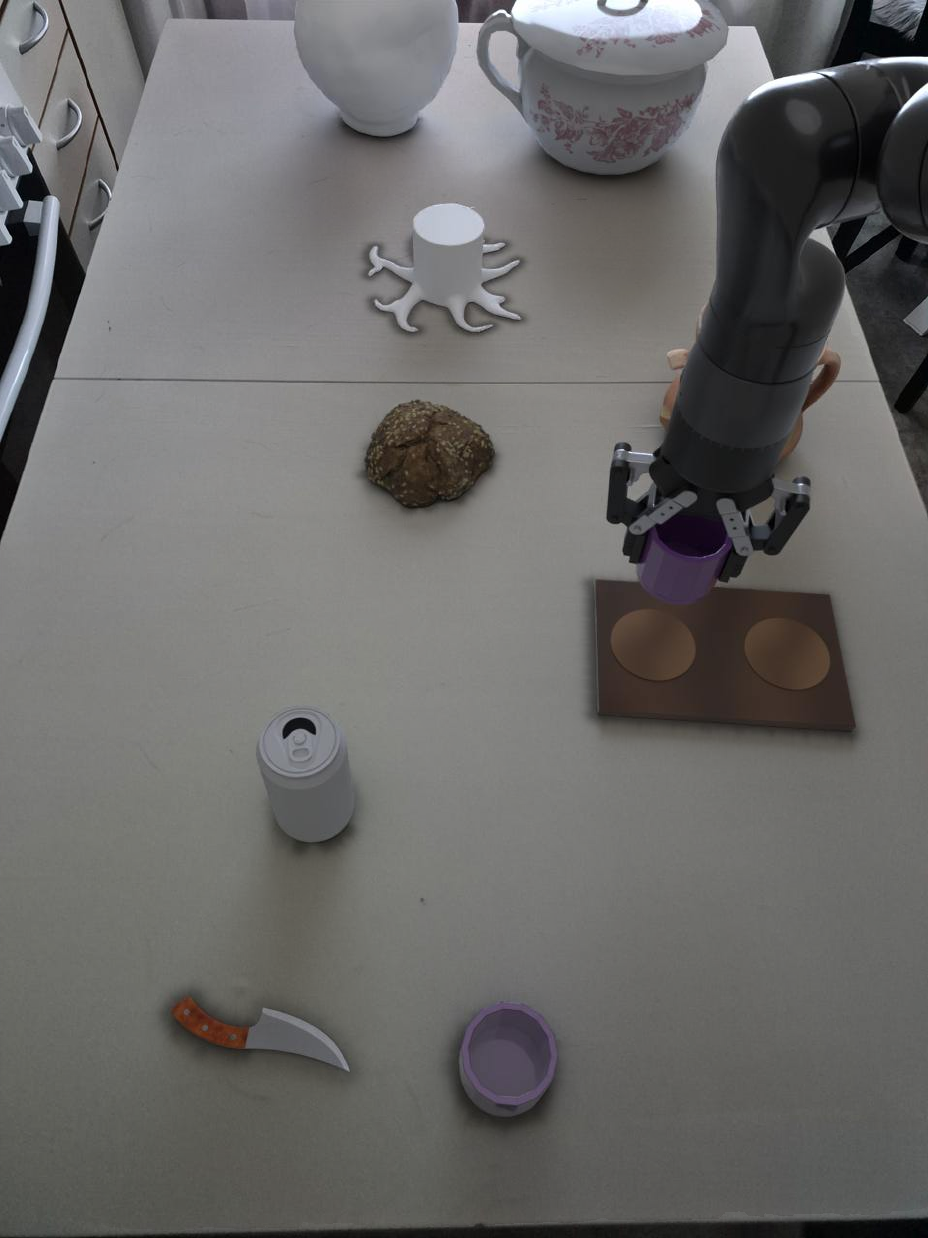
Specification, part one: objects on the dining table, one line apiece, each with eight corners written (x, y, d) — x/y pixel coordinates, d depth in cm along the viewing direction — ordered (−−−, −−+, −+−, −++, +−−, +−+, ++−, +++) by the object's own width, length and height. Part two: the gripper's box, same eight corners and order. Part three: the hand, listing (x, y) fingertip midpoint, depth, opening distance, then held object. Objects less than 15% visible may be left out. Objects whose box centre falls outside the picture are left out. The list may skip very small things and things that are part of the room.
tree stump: (536, 247, 121) (543, 186, 114) (514, 347, 110) (520, 286, 103) (380, 225, 122) (378, 164, 116) (343, 322, 111) (338, 261, 105)
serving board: (826, 600, 91) (830, 593, 90) (852, 731, 83) (856, 725, 82) (593, 584, 91) (595, 577, 90) (597, 715, 83) (599, 708, 82)
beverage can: (350, 766, 79) (340, 693, 70) (359, 840, 76) (349, 774, 66) (272, 777, 79) (251, 705, 69) (277, 852, 75) (255, 787, 65)
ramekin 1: (563, 1096, 66) (573, 1082, 62) (477, 1132, 65) (481, 1121, 60) (528, 1006, 69) (535, 987, 65) (445, 1039, 68) (447, 1022, 63)
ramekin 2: (730, 592, 74) (750, 548, 70) (657, 615, 73) (673, 571, 69) (691, 533, 78) (708, 488, 73) (621, 554, 76) (633, 509, 72)
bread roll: (406, 403, 104) (406, 367, 100) (507, 446, 101) (510, 411, 97) (339, 477, 98) (336, 442, 94) (445, 526, 94) (445, 492, 90)
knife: (360, 1029, 67) (348, 1075, 66) (360, 1031, 68) (349, 1076, 66) (179, 987, 68) (163, 1031, 67) (180, 989, 69) (165, 1033, 67)
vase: (277, 123, 135) (244, -137, 110) (381, 68, 145) (373, -182, 120) (374, 174, 129) (363, -89, 104) (477, 113, 138) (488, -141, 114)
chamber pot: (736, 150, 135) (782, -14, 118) (615, 229, 123) (646, 60, 106) (583, 75, 146) (604, -85, 129) (457, 142, 134) (463, -24, 117)
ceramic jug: (658, 488, 98) (690, 381, 87) (635, 390, 106) (661, 280, 95) (829, 485, 99) (884, 379, 88) (794, 388, 108) (839, 279, 96)
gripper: (616, 421, 59) (579, 583, 73) (853, 465, 58) (770, 622, 72) (631, 343, 63) (594, 510, 77) (853, 383, 62) (774, 546, 76)
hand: (678, 563), depth 74 cm, fingers closed on ramekin 2, 6 cm apart
